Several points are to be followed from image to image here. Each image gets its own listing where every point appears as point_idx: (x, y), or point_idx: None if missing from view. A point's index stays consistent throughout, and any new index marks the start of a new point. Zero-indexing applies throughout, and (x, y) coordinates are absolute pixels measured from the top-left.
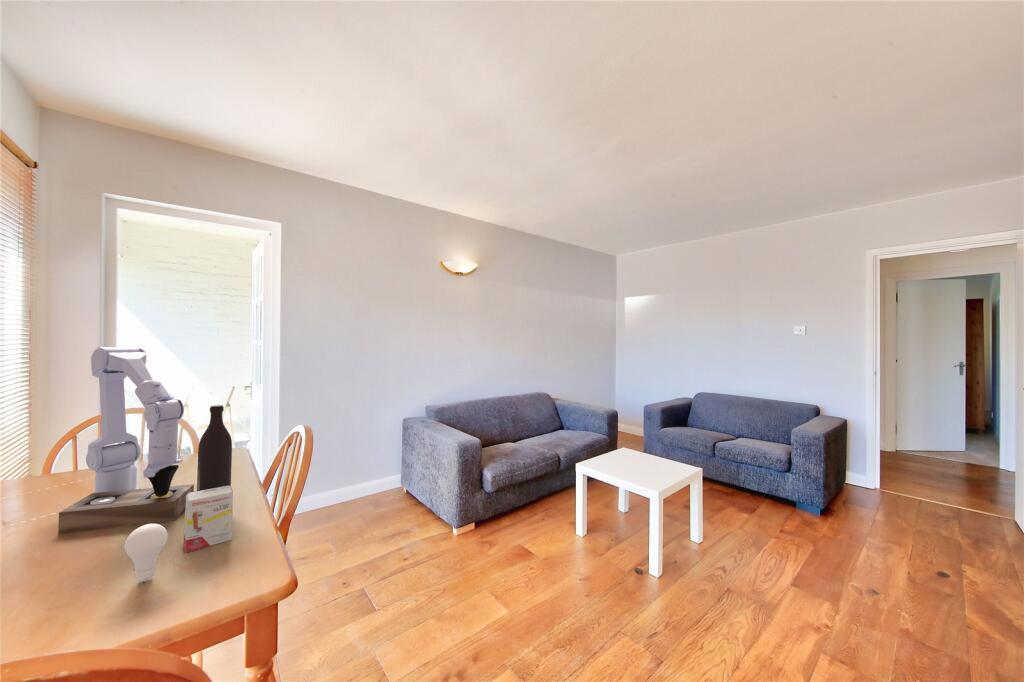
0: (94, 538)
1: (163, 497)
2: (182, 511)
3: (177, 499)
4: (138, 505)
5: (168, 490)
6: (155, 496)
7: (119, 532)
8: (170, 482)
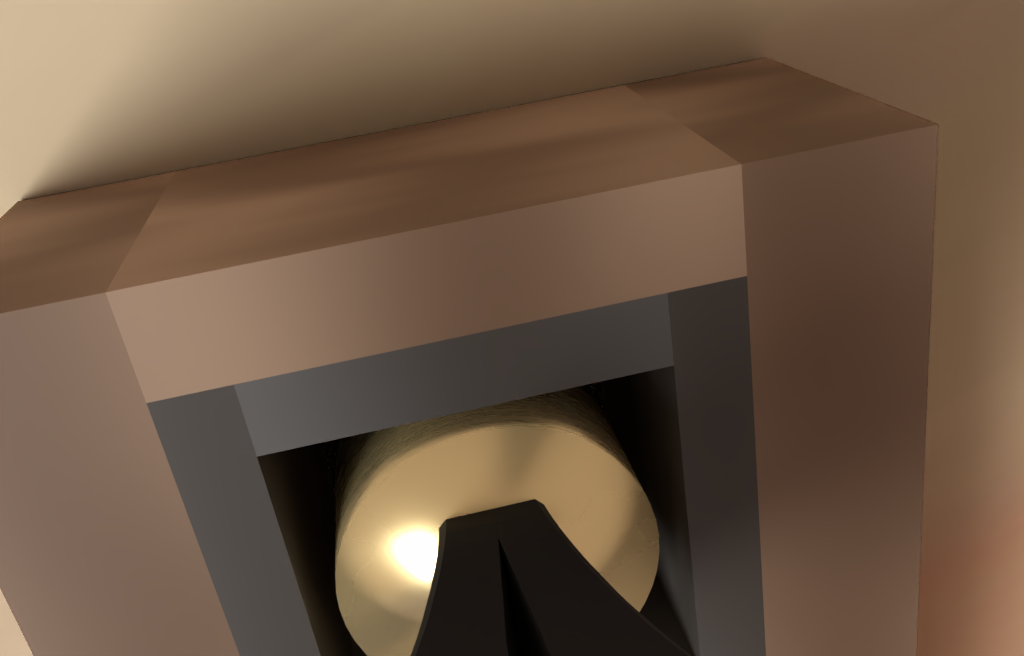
0: (1006, 590)
1: (622, 466)
2: (468, 116)
3: (794, 145)
4: (911, 592)
5: (458, 541)
6: None
7: (941, 472)
8: (467, 645)
